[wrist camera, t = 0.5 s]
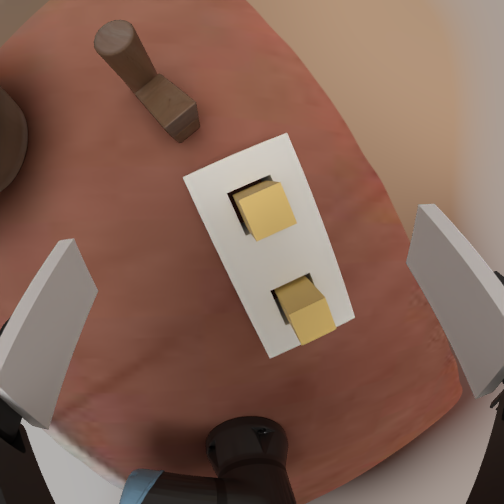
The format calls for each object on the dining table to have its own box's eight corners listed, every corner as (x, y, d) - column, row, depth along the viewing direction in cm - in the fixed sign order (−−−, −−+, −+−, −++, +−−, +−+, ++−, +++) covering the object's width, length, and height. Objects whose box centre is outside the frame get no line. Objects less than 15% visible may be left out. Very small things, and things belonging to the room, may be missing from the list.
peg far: (314, 301, 39) (336, 328, 32) (285, 315, 39) (301, 345, 32) (304, 274, 38) (325, 297, 31) (273, 288, 38) (288, 314, 31)
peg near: (279, 213, 36) (297, 223, 29) (246, 227, 36) (256, 241, 28) (265, 180, 35) (280, 182, 28) (232, 195, 35) (238, 200, 27)
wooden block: (179, 144, 39) (158, 122, 21) (130, 88, 36) (83, 38, 19) (201, 126, 39) (196, 91, 21) (151, 70, 36) (118, 10, 18)
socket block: (333, 295, 47) (355, 317, 39) (260, 329, 46) (269, 358, 39) (272, 140, 40) (286, 132, 32) (187, 176, 40) (182, 177, 32)
